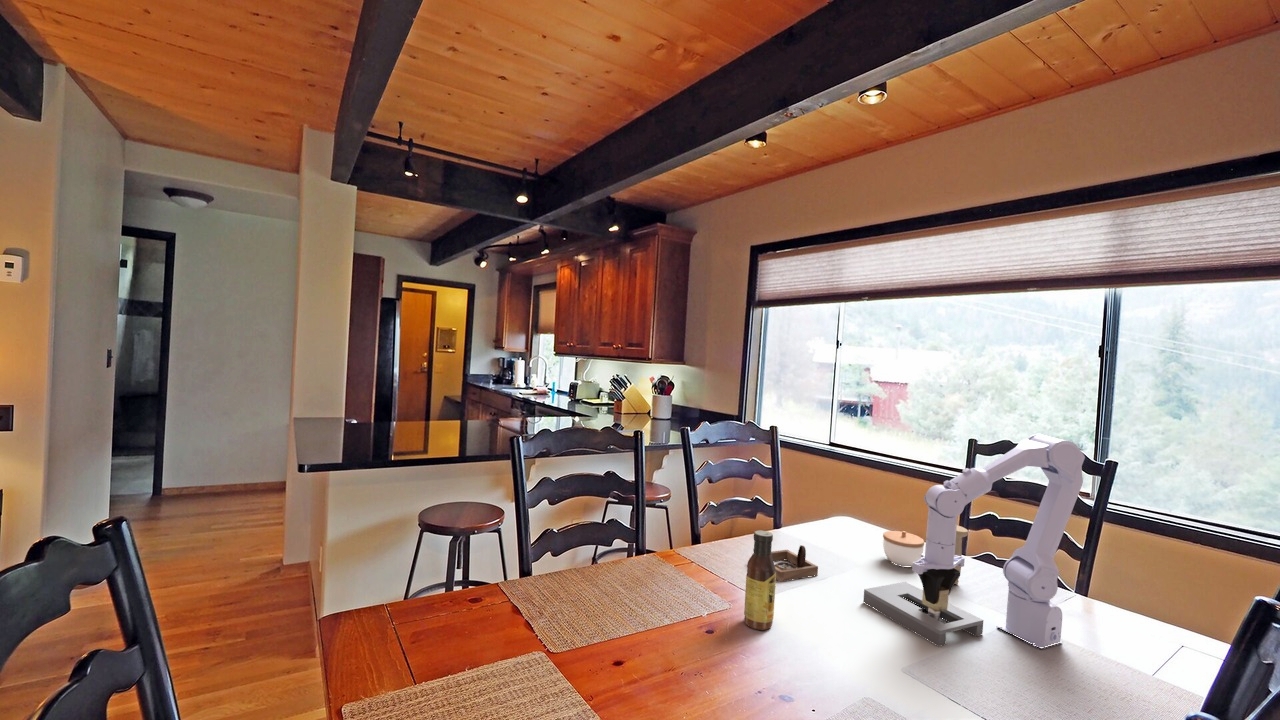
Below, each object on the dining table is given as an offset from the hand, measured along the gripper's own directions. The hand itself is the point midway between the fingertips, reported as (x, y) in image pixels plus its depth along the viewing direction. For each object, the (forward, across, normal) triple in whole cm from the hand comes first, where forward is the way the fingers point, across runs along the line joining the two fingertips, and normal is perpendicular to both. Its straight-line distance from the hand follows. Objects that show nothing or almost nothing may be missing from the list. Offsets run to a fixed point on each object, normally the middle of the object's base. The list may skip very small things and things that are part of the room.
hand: (936, 600), depth 123 cm
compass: (+6, +13, -34) cm, 37 cm away
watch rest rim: (+6, +13, -36) cm, 38 cm away
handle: (+6, -26, -15) cm, 30 cm away
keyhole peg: (+5, 0, 0) cm, 5 cm away
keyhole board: (+6, 0, -4) cm, 7 cm away
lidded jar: (+6, -24, -29) cm, 38 cm away
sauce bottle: (+6, +38, -14) cm, 41 cm away
